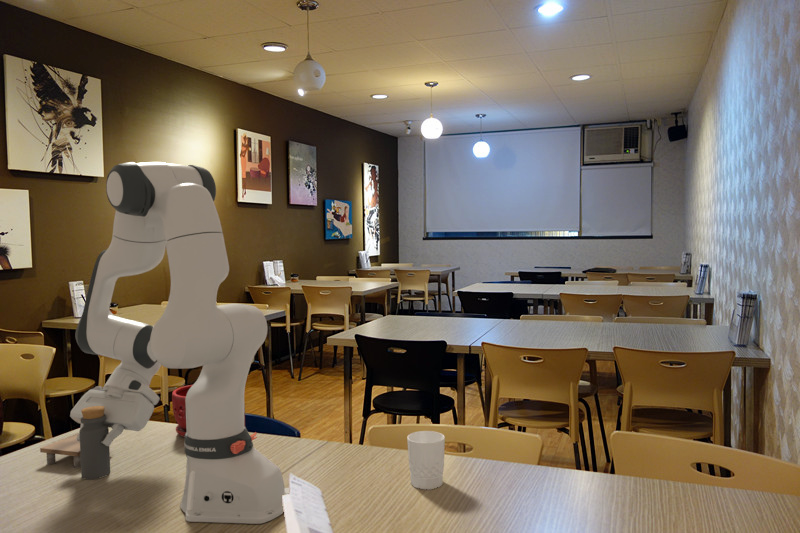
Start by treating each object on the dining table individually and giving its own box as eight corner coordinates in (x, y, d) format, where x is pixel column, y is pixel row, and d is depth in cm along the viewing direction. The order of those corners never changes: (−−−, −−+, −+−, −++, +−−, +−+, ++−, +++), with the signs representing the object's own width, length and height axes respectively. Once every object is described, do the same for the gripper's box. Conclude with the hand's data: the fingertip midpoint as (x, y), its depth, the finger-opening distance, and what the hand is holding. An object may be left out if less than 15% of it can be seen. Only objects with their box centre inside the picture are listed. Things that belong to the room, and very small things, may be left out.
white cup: (453, 482, 130) (452, 435, 129) (428, 494, 124) (428, 445, 123) (424, 473, 135) (424, 428, 135) (400, 484, 129) (399, 437, 129)
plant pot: (162, 438, 162) (160, 393, 162) (196, 423, 174) (195, 381, 174) (202, 443, 157) (200, 397, 157) (234, 428, 169) (233, 385, 169)
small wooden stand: (113, 452, 152) (113, 436, 151) (78, 469, 141) (77, 452, 141) (78, 449, 155) (77, 433, 155) (41, 464, 144) (40, 448, 144)
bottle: (102, 479, 135) (99, 412, 134) (76, 479, 135) (72, 412, 134) (115, 469, 141) (112, 404, 140) (89, 469, 141) (86, 405, 140)
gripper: (84, 378, 147) (49, 431, 139) (150, 385, 139) (117, 441, 131) (100, 392, 152) (67, 444, 143) (165, 399, 144) (134, 454, 135)
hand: (92, 443), depth 137 cm, fingers closed on bottle, 6 cm apart
